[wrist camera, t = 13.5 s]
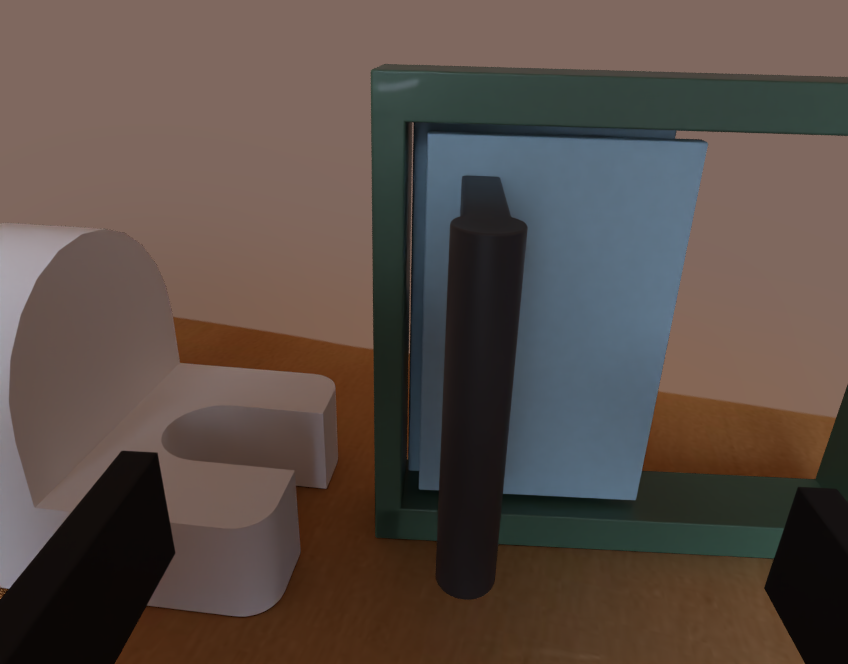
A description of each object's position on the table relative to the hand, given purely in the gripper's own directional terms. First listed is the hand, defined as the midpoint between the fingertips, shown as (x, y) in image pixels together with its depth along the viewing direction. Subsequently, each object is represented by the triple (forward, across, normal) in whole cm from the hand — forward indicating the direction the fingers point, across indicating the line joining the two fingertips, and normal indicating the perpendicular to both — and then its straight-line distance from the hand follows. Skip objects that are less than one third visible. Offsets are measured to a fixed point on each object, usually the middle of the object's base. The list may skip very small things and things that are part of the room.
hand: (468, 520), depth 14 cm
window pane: (+7, +3, -7) cm, 10 cm away
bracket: (+10, -15, -9) cm, 20 cm away
